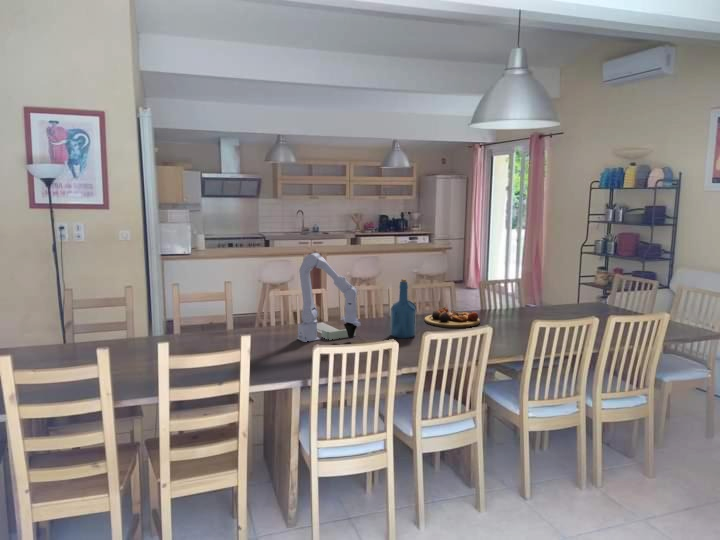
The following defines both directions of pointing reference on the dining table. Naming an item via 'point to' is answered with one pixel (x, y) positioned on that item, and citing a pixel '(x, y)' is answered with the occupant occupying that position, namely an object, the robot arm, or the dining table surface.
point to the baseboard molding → (324, 327)
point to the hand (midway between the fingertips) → (350, 337)
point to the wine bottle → (403, 315)
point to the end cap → (335, 334)
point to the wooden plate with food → (452, 319)
